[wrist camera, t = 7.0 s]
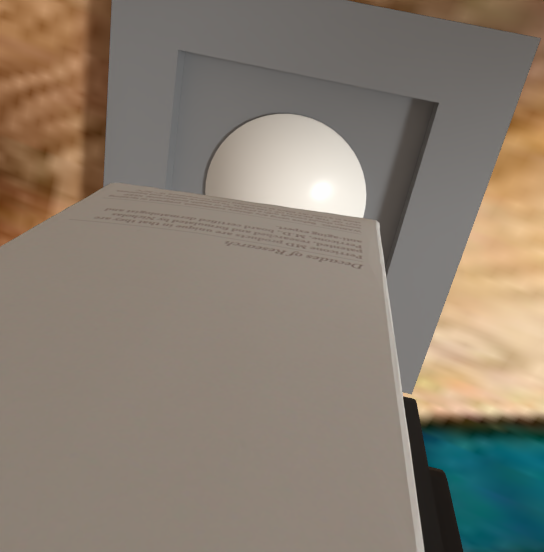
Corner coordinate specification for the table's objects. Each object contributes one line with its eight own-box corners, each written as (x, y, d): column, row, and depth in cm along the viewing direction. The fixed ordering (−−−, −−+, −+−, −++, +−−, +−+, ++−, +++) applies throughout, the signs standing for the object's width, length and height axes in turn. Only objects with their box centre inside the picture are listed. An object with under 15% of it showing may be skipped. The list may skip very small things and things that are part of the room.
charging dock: (527, 39, 25) (541, 38, 23) (408, 375, 33) (411, 394, 32) (130, -39, 26) (113, -45, 24) (110, 306, 34) (97, 320, 33)
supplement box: (107, 173, 14) (-1109, 780, 2) (386, 216, 13) (623, 1321, 2) (110, 398, 17) (-409, 1146, 5) (337, 441, 16) (304, 1384, 5)
